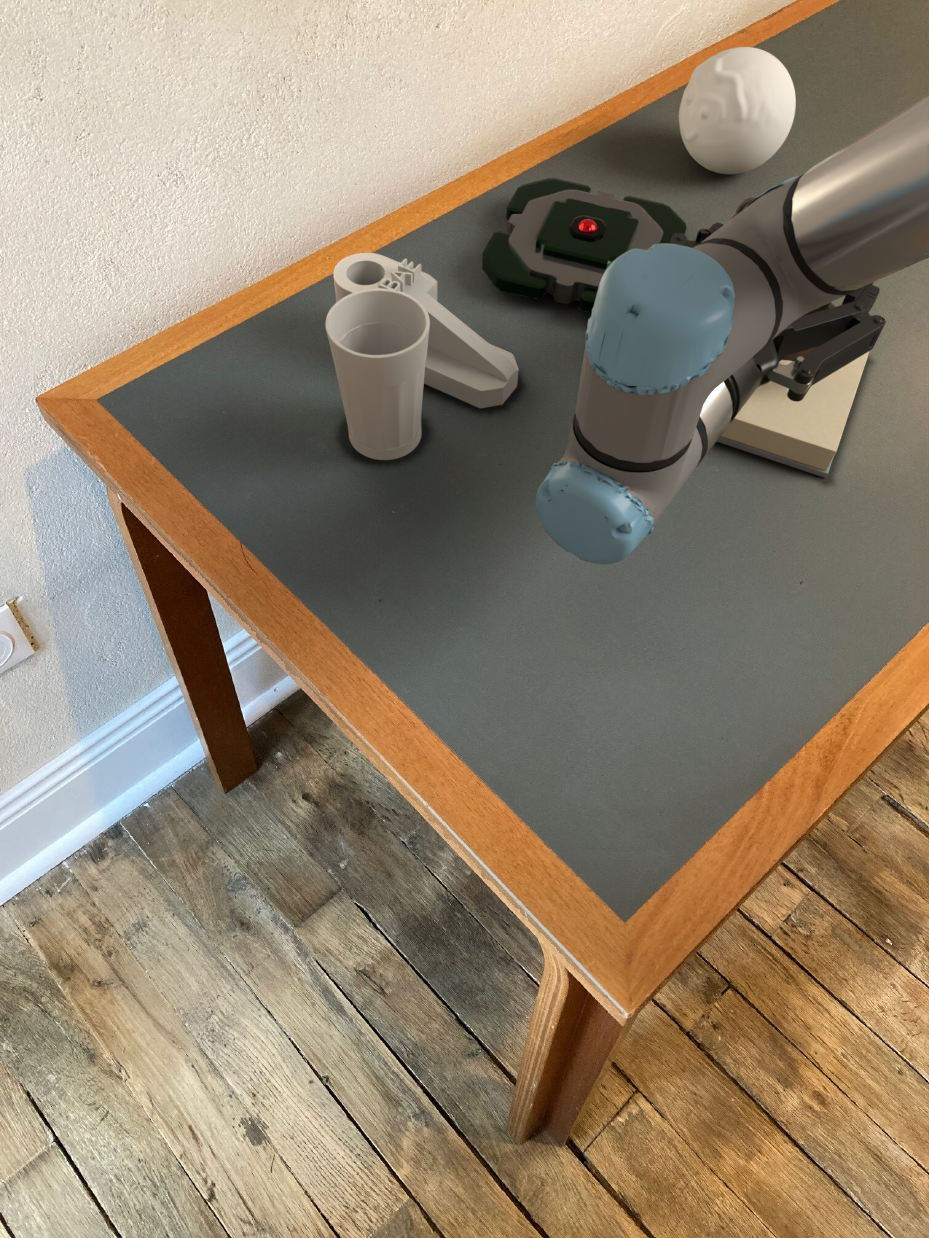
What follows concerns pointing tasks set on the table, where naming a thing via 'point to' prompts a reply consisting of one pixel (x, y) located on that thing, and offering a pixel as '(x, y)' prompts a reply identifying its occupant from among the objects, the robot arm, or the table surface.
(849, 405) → the cream flat slab
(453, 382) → the grey mounting bracket
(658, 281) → the robot arm
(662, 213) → the clover-shaped pad
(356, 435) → the cup
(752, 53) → the decorative ball
